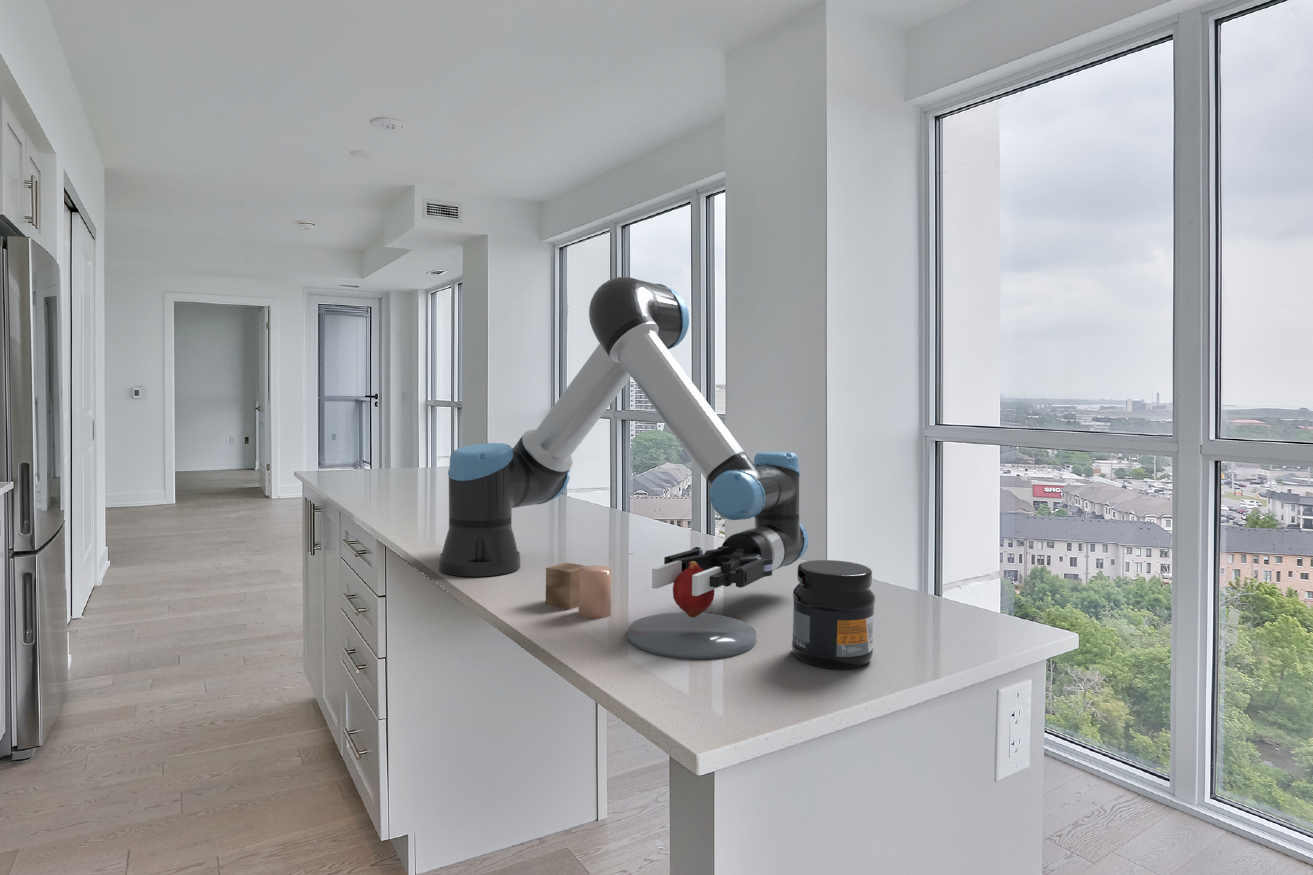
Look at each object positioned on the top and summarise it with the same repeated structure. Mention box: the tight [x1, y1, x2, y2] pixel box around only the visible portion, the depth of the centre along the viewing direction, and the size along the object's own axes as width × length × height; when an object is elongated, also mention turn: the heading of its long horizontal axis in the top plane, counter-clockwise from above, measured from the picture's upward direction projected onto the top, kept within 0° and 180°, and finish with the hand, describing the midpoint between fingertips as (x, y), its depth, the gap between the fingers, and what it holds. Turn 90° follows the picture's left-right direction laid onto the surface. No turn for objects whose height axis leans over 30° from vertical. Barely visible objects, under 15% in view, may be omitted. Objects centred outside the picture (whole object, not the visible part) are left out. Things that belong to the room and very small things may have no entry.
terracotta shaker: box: [577, 565, 613, 620], centre depth 122 cm, size 5×5×7 cm
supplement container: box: [791, 559, 876, 670], centre depth 104 cm, size 10×10×12 cm
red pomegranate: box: [672, 561, 715, 618], centre depth 111 cm, size 6×6×8 cm
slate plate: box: [627, 611, 757, 660], centre depth 111 cm, size 18×18×1 cm
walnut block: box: [545, 562, 585, 611], centre depth 127 cm, size 5×5×6 cm
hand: (674, 581), depth 106 cm, fingers closed on red pomegranate, 6 cm apart
